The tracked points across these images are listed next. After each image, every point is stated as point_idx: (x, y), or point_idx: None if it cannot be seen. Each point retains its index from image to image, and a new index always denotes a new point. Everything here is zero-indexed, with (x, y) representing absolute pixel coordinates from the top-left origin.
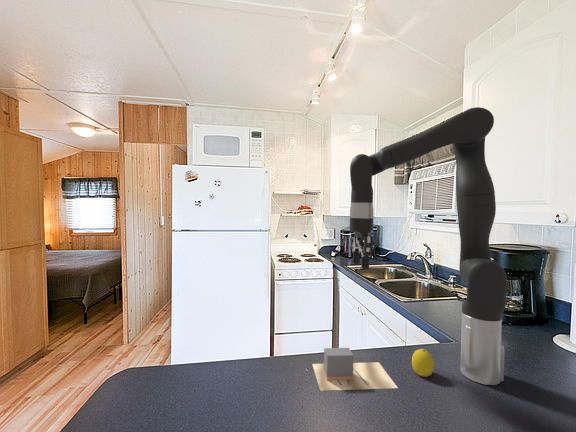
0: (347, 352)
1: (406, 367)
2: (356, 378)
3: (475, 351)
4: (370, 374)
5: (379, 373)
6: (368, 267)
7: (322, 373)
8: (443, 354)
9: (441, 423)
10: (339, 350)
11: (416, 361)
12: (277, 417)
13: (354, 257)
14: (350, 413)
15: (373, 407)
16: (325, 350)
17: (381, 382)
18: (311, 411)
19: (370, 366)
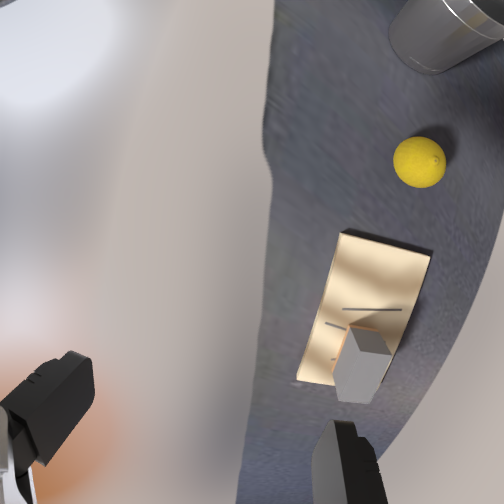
0: (377, 363)
1: (363, 166)
2: (376, 320)
3: (469, 55)
4: (376, 284)
5: (381, 262)
6: (352, 428)
7: None
8: (330, 30)
9: (490, 238)
10: (362, 375)
11: (427, 186)
12: (382, 436)
13: (65, 432)
14: (425, 357)
15: (433, 319)
16: (348, 401)
17: (406, 278)
18: (396, 403)
19: (351, 266)
